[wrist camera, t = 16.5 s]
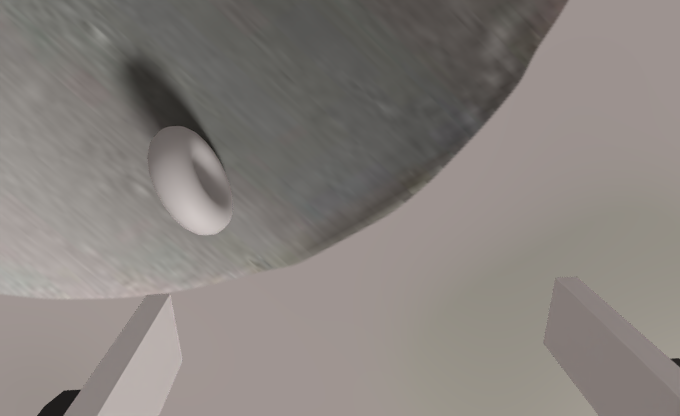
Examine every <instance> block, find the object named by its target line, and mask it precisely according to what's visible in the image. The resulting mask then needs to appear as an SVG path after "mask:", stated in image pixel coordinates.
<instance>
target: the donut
mask: <svg viewBox="0 0 680 416" xmlns="http://www.w3.org/2000/svg"><path fill="white" fill-rule="evenodd" d="M147 159H148V166H149V173H150V176H151V179H152V182H153V185H154V188H155V190H156V192H157V194H158V196H159V198H160V199H161V201H162V203H163V205H164V206H165V208H166V209H167V210H168V212H169V213H170V214H171V216H172V217H173V218H174V219H175V220H176V221H177V222H178V223H179V224H180V225H181V226H182V227H184V228H186V229H188V230H190V231H191V232H193V233H195V234H199V235H213V234H217V233H218V232H220V231H221V230H223V229H224V228H225V227H226V226H227V225H228V223H229V222H230V220H231V217H232V213H233V196H232V192H231V187H230V184H229V181H228V178H227V175H226V173H225V171H224V169H223V167H222V165H221V163H220V161H219V159H218V158H217V156H216V154H215V153H214V151H213V150H212V149H211V147H210V146H209V145H208V144H207V142H206V141H205V140H204V139H202V138H201V137H200V136H199V135H198V134H197V133H196V132H194V131H192V130H190V129H188V128H186V127H183V126H169V127H166V128H163V129H161V130H160V131H159V132H158V133H157V134H156V135H155V136H154V138H153V139H152V140H151V142H150V146H149V152H148V158H147Z"/></svg>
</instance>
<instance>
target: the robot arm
mask: <svg viewBox="0 0 680 416" xmlns="http://www.w3.org/2000/svg"><path fill="white" fill-rule="evenodd" d="M544 345H545V346H546V347H547V349H548V350H549V351H550V353H551V354H552V355H553V357H554V358H555V359H556V360H557V362H558V363H559V364H560V366H561V367H562V368H563V369H564V371H565V372H566V373H567V375H568V376H569V377H570V379H571V380H572V381H573V383H574V384H575V385H576V387H577V388H578V389H579V391H580V392H581V393H582V394H583V396H584V397H585V398H586V400H587V401H588V402H589V404H590V405H591V406H592V407H593V409H594V410H595V411H596V413H597V414H598V415H599V416H680V359H679V358H676V359H670V358H669V357H667V356H666V355H665V354H664V353H663V352H662V351H661V350H660V349H658V348H657V347H656V346H655V345H654V344H653V343H652V342H650V341H649V340H648V339H647V338H646V337H645V336H644V335H643V334H641V333H640V332H639V331H638V330H637V329H636V328H634V327H633V326H632V325H631V324H630V323H629V322H628V321H627V320H625V319H624V318H623V317H622V316H621V315H620V314H619V313H618V312H616V311H615V310H614V309H613V308H612V307H611V306H610V305H608V304H607V303H606V302H605V301H604V300H603V299H601V297H599V296H598V295H597V294H596V293H595V292H594V291H593V290H591V289H590V288H589V287H588V286H587V285H586V284H585V283H584V282H582V281H581V280H580V279H579V278H578V277H558V278H555V283H554V288H553V293H552V299H551V304H550V310H549V315H548V320H547V326H546V331H545V337H544ZM182 361H183V360H182V355H181V350H180V344H179V338H178V333H177V328H176V322H175V317H174V311H173V306H172V301H171V295H170V294H155V295H146V297H145V298H144V300H143V301H142V303H141V304H140V306H139V307H138V309H137V310H136V311H135V313H134V314H133V316H132V317H131V319H130V320H129V322H128V323H127V324H126V326H125V327H124V329H123V330H122V332H121V333H120V335H119V336H118V337H117V339H116V340H115V342H114V343H113V345H112V346H111V347H110V349H109V350H108V352H107V353H106V355H105V356H104V358H103V359H102V361H101V362H100V363H99V365H98V366H97V368H96V369H95V371H94V372H93V374H92V375H91V376H90V378H89V379H88V381H87V382H86V384H85V385H84V387H83V388H82V389H81V390H70V391H69V390H67V391H63V392H62V393H61V394H59V395H58V396H57V397H56V398H54V399H53V400H52V401H51V402H49V403H48V404H47V405H46V406H45V407H44V408H43V409H42V410H41V412H40V413H39V414H38V415H37V416H159V414H160V412H161V409H162V407H163V405H164V403H165V400H166V398H167V396H168V393H169V391H170V389H171V386H172V384H173V382H174V380H175V377H176V375H177V372H178V370H179V368H180V366H181V363H182Z"/></svg>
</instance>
